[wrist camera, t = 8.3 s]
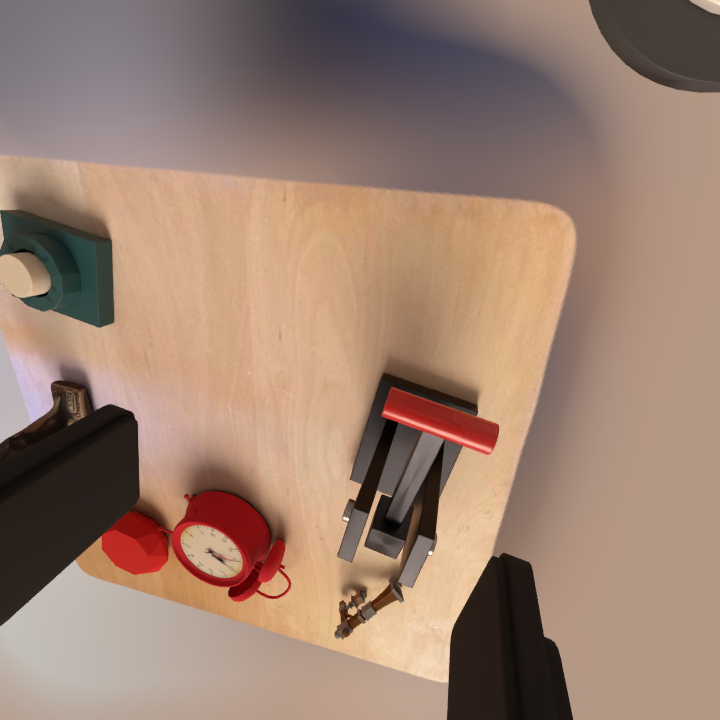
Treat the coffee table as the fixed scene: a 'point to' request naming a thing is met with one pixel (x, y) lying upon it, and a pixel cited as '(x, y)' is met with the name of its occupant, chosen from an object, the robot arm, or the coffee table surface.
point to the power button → (24, 274)
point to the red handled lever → (421, 460)
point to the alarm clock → (227, 545)
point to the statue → (50, 418)
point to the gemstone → (136, 544)
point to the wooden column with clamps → (365, 608)
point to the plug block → (65, 266)
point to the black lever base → (383, 469)
